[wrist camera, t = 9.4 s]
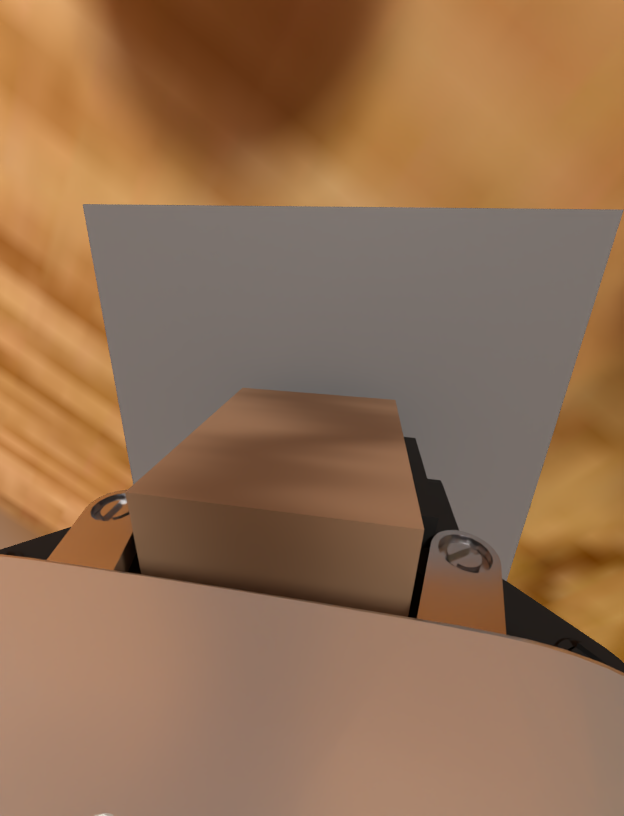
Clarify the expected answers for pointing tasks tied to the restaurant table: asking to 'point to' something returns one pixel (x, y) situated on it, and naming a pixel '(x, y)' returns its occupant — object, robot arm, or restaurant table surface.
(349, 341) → the grey square slab
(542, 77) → the restaurant table surface
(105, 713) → the robot arm
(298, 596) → the walnut block
